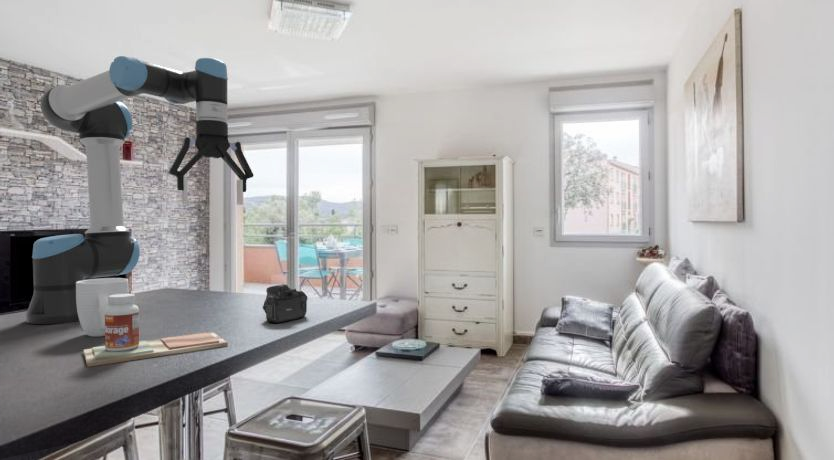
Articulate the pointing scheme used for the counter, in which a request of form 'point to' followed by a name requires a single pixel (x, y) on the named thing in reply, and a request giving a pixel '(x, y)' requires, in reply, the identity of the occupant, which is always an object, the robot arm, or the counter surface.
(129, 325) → the pill bottle
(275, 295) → the camera
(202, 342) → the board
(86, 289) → the mug
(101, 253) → the robot arm
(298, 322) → the counter surface
